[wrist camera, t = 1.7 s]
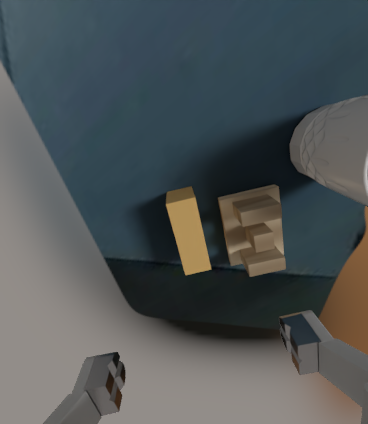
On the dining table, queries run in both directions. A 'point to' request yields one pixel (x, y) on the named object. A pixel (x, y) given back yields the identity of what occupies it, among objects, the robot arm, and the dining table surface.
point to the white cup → (335, 147)
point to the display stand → (254, 229)
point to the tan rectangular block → (187, 230)
